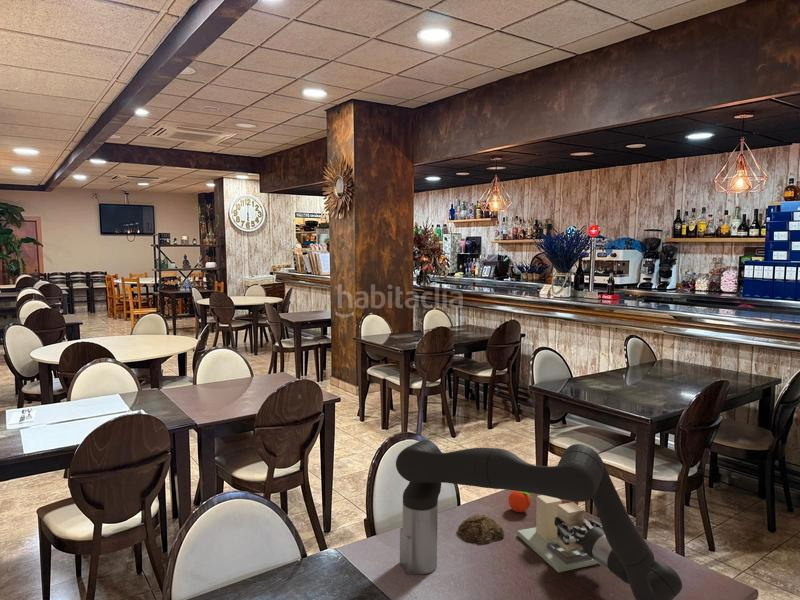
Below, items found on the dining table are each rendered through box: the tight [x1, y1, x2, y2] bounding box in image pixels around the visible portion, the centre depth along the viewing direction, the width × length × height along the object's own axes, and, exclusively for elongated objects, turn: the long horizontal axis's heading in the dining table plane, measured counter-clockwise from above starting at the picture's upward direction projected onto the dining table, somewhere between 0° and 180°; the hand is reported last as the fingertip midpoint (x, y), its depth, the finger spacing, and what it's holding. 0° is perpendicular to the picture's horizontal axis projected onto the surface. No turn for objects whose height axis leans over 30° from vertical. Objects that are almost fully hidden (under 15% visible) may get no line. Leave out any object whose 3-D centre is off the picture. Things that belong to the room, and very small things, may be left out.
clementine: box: [507, 490, 534, 513], centre depth 179 cm, size 8×7×7 cm
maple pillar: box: [556, 502, 585, 552], centre depth 152 cm, size 5×5×11 cm
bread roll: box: [457, 514, 505, 545], centre depth 165 cm, size 13×12×5 cm
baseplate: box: [517, 494, 600, 573], centre depth 157 cm, size 14×20×12 cm
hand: (564, 518), depth 154 cm, fingers closed on maple pillar, 5 cm apart
